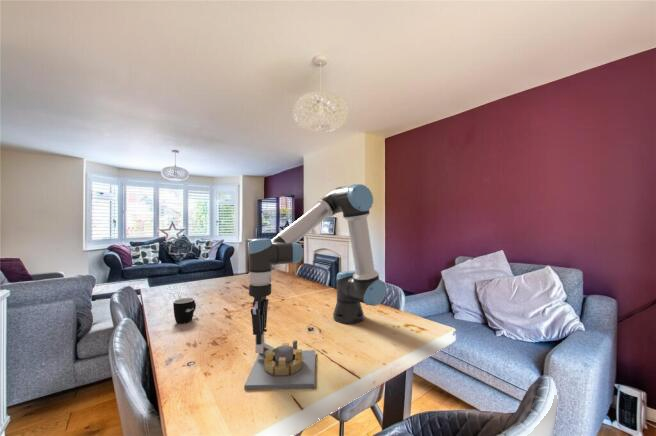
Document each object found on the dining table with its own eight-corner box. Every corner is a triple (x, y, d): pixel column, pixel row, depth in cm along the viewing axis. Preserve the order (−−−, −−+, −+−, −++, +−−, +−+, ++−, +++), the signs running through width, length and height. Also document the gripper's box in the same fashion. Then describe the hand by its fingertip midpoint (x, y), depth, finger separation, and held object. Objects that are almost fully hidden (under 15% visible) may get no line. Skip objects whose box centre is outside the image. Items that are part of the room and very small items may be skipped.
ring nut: (310, 364, 87) (310, 350, 88) (280, 380, 79) (280, 365, 79) (273, 345, 101) (273, 333, 101) (244, 357, 92) (244, 344, 92)
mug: (185, 325, 123) (185, 303, 123) (168, 324, 125) (168, 302, 125) (202, 316, 135) (202, 296, 135) (187, 315, 137) (187, 295, 137)
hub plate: (315, 353, 97) (315, 335, 97) (314, 387, 77) (314, 365, 77) (259, 354, 97) (259, 336, 97) (244, 389, 77) (244, 367, 77)
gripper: (255, 279, 99) (255, 343, 99) (242, 287, 86) (242, 361, 86) (275, 279, 99) (275, 344, 98) (265, 287, 86) (265, 362, 86)
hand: (259, 352), depth 92 cm, fingers closed
